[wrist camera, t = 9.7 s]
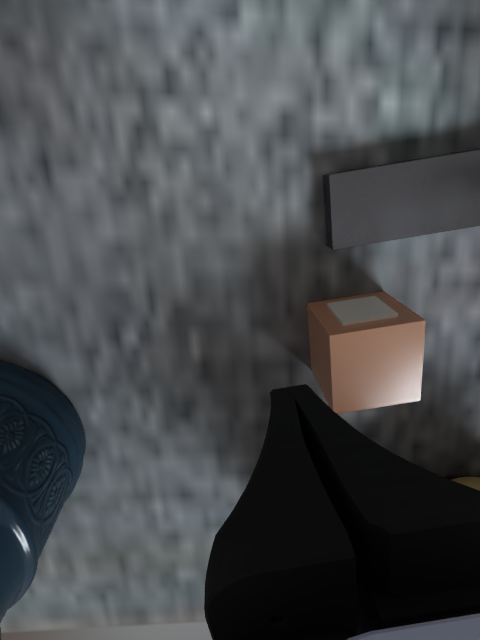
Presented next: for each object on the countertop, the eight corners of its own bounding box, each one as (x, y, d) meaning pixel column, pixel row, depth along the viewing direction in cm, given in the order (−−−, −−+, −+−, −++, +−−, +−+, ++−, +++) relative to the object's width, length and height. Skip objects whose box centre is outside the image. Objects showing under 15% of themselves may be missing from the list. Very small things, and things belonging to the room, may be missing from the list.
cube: (311, 369, 25) (333, 414, 20) (306, 299, 23) (329, 332, 18) (381, 358, 25) (420, 400, 20) (383, 287, 23) (426, 316, 18)
